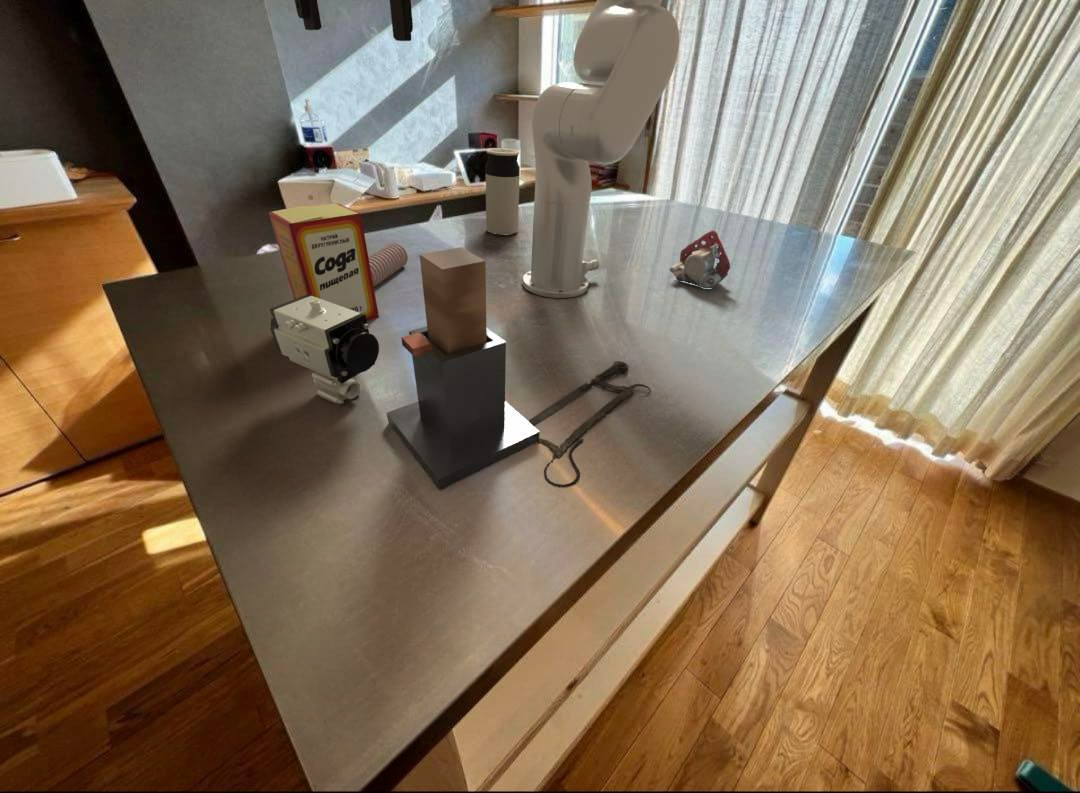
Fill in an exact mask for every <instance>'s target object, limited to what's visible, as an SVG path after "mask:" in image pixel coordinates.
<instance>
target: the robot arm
mask: <svg viewBox="0 0 1080 793" xmlns="http://www.w3.org/2000/svg"><path fill="white" fill-rule="evenodd" d="M662 1H663V0H596V2H595V3H594V6H593V7H592V10H591V12H590V14H589V16H588V17H587V19H586V21H585V24H584V26H583V28H582V29H581V32H580V34H579V36H578V39H577V42H576V43H575V48H574V52H573V67H574V71H575V73H576V75H577V77H578V78H579V79H580V80H581V81H582V82H584V83H581V82H571V81H570V82H565V81H564V82H559V83H555V84H551V85H550V86H549V87H547V88H546V89H545V90H543V91H542V93H541V94H539V96H538V98H537V100H536V102H535V104H534V108H533V111H532V118H531V120H532V121H531V126H532V127H531V130H532V140H533V141H532V142H533V148H534V160H535V184H534V186H535V187H534V200H533V201H534V202H533V204H534V205H533V222H532V223H533V225H532V240H531V241H532V242H531V244H532V245H531V260H530V262H531V264H530V265H531V267H530V270H529V271H527V272H526V273H524V275H523V276H522V278H521V279H522V280H521V281H522V285H523V287H524V288H525V289H526V290H527V291H529V292H530V293H532V294H535V295H538V296H542V297H545V298H552V299H568V298H574V297H578V296H580V295H583V294H585V293H586V292H587V291H588V289H589V281H588V279H587V277H586V276H585V275H586V274H588V272H592V271H596V270H598V269H599V268H600V262H599V261H598V259H591V260H589V261H586V259H585V258H584V253H585V244H586V236H587V229H588V228H587V227H588V219H589V211H590V204H591V203H590V202H591V198H592V196H591V195H592V175H591V168H590V164H589V162H591V163H595V164H600V165H613V164H615V163H618V162H620V160H622V159H623V158H624V157H625V156H626V155H627V154H628V153H629V151H630V150H631V149H632V148H633V146H634V145H635V143H636V141H637V140H638V137H639V136H640V134H641V133H642V130H643V129H644V127H645V125H646V124H647V122H648V120H649V118H650V117H651V114H653V111H654V110H655V107H656V105H657V104H658V102H659V100H660V98H661V96H662V95H663V93H664V91H665V89H666V87H667V86H668V84H669V81H670V79H671V78H672V75H673V73H674V70H675V66H676V63H677V60H678V54H679V49H680V48H679V47H680V30H679V26H678V23H677V20H676V18H675V16H674V15H673V13H671V11H670V10H668V9H667V8H666V7H664V6H662V5H661V4H662ZM294 4H295V9H296V13H297V16H298V18H300V19H302V22H303V25H304V29H305V30H306V31H320V30H321V29H322V22H321V17H320V8H319V4H318V0H294ZM389 6H390V7H389V8H390V16H391V26H392V28H391V29H392V35H393V39H394V40H395V41H396V42H397V41H398V42H411V40H412V32H413V30H414V29H413V28H414V23H413V13H412V11H413V10H412V0H389Z"/></svg>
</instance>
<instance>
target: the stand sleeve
mask: <svg viewBox="0 0 1080 793" xmlns="http://www.w3.org/2000/svg"><path fill="white" fill-rule="evenodd" d="M486 331H487V343H485V344H482V345H479V346H475V347H472V348H469V349H466V350H463V351H459V352H456V353H453V354H450V355H447V356H446V355H445V354H444V353H443V352H442V351H441V350H439V349H438V348H437V347H436V346H435V345H434V344H433V343H432V342H431V341H429V340H428V330H427V326H424V327H420V328H416V329H412V330H408V335H404V336H401V346H402V347H404V349H406V350H407V351H408V352H409V354H411V358H412V364H413V372H414V380H415V387H416V395H417V401H415V402H413V403H409V404H407V405H404V406H402V407H398V408H396V409H393V410H390V411H388V412H386V418H387V422H388V425H389V426H390V427H391V428H392V430H393V431H394V432H395V434H396V435H397V436H398V438H399V440H400V441H401V442H402V443H403V444H404V445H405V447H406V448H407V449H408V450H409V452H410V454H411V455H412V456H413V458H414V459H415V460H416V461H417V463H418V464H419V465H420V467H421V468H422V469H423V471H424V472H425V473H426V474H427V476H428V477H429V478H430V480H431V481H432V482H433V483H434V485H435V486H436V488H437V489H438V490H439V491H441V490H444V489H446V488H448V487H450V486H452V485H454V484H456V483H458V482H461V481H462V480H465V479H466V478H468V477H470V476H472V475H474V474H476V473H479V472H480V471H483V470H484V469H486V468H489V467H490V466H493V465H494V464H497V463H499V462H500V461H503V460H506V459H507V458H509V457H511V456H513V455H515V454H517V453H519V452H521V451H524V449H527V448H529V447H531V446H533V445H535V444H538V443H537V442H538V441H539V438H540V430H539V429H537V428H536V426H533V425H532V424H531V423H530V422H528V420H527V418H525V417H524V416H523V415H522V414H520V412H518V411H517V410H516V409H515V408H514V407H512V405H510V404H509V403H508V402H507V401H506V365H507V364H506V362H507V360H506V359H507V358H506V356H507V354H506V353H507V341H506V340H504V339H503V338H501V337H500V336H498V335H497V334H496V333H494V332H493V331H492V330H490V329H489V328H488V327H486Z"/></svg>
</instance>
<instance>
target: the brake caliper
mask: <svg viewBox="0 0 1080 793" xmlns="http://www.w3.org/2000/svg"><path fill="white" fill-rule="evenodd" d="M702 242H705V243H704V244H703V243H702ZM693 252H694V253H693ZM716 259H718V260H719V261H718V262H716ZM715 262H716V266H715ZM730 269H731V263H730V259H729V258H728V256H727V252H726V250H725V248H724V246H723V244H722V242H721V239H720V236H719V235H718V232H716V230H710V231H707V232H706V233H704V234H703V235H701V237H699V238H697V239H696V240H694V241H693V242H691V243H689V244H688V245H687V246H686V247H684V248H683V249H681V251H680V254H679V261H678V262H677V263H676V264H673V265H672V266H671V267H669V271H670V272H671V273H672V274H673V275H674V276H675V277H676V279H677V280H676V281H678V280H679V281H685V282H688V283H692V284H695V285H698V286H700V287H703V288H713V287H714V286H715V287H716V286H717V285H719V284H720V283H722V281H723V280H724V279H725V278H726V277H728V275H729V271H730ZM679 281H678V282H679ZM715 287H714V288H715ZM714 288H713V289H714Z"/></svg>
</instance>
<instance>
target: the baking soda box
mask: <svg viewBox="0 0 1080 793" xmlns="http://www.w3.org/2000/svg"><path fill="white" fill-rule="evenodd" d="M268 215H269V218H270V222H271V226H272V229H273V233H274V236H275V239H276V243H277V246H278V249H279V252H280V256H281V260H282V262H283V267H284V269H285V272H286V276H287V281H288V283H289V287H290V290H291V294H292V296H293V300H294V299H297V298H299V297H302V296H305V295H307V294H308V295H311V296H313V297H316V298H319V299H322V300H325V301H328V302H330V303H333V304H336V305H339V306H342V307H344V308H347V309H350V310H353V311H356V312H359V313H361V314H364V315H366V320H367V322H368V321H371V320H374V319H376V318H380V315H379V310H378V304H377V299H376V298H377V297H376V292H375V287H374V286H373V280H372V275H371V269H370V263H369V258H368V257H369V252H368V247H367V241H366V235H365V230H364V225H363V218H362V214H361V212H358V211H357V210H355V209H352V208H350V207H347V206H345V205H343V204H340V203H331V204H321V205H313V206H307V205H298V206H296V207H295V206H294V207H289V208H283V209H280V210H273V211H268Z"/></svg>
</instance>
